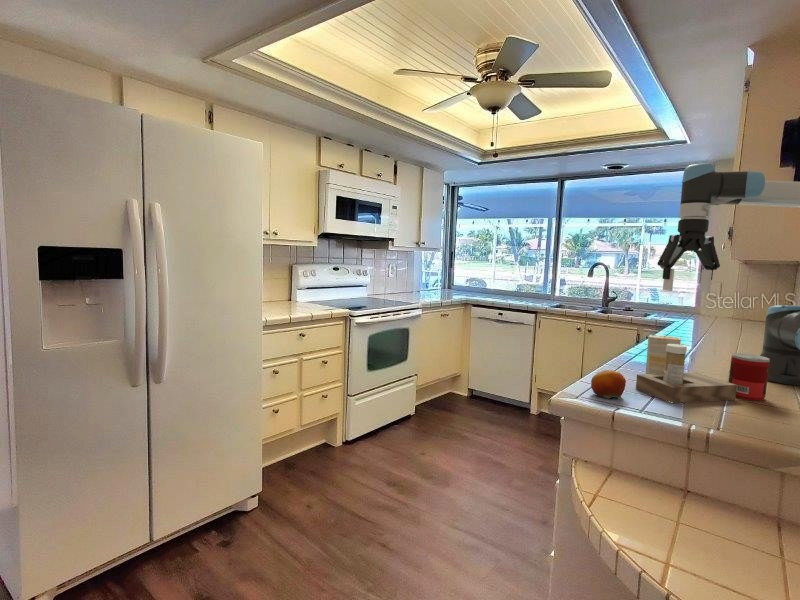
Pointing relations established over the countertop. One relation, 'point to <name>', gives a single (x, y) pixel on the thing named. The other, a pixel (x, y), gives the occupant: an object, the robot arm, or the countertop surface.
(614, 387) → the fruit
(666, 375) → the sprinkles bottle
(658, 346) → the supplement box
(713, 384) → the caddy
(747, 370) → the canned food
